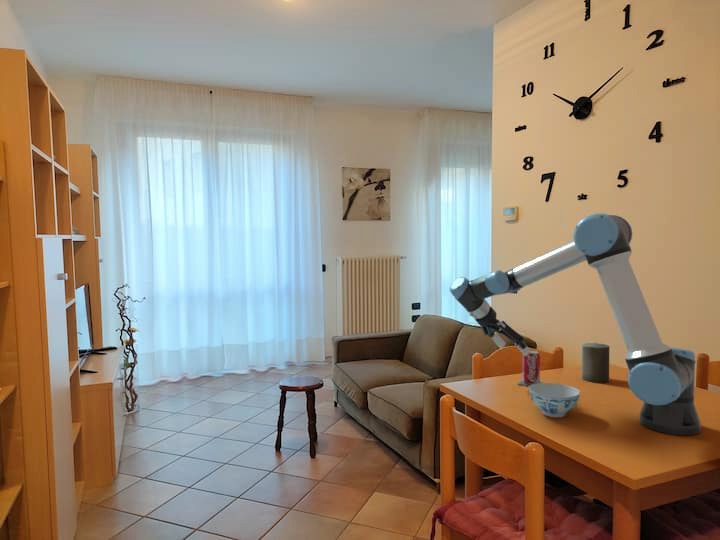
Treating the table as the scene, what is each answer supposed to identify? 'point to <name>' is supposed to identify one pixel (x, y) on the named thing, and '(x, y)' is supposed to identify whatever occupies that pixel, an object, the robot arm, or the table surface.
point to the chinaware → (554, 398)
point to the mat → (525, 383)
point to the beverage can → (531, 368)
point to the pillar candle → (595, 362)
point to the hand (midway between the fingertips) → (515, 349)
